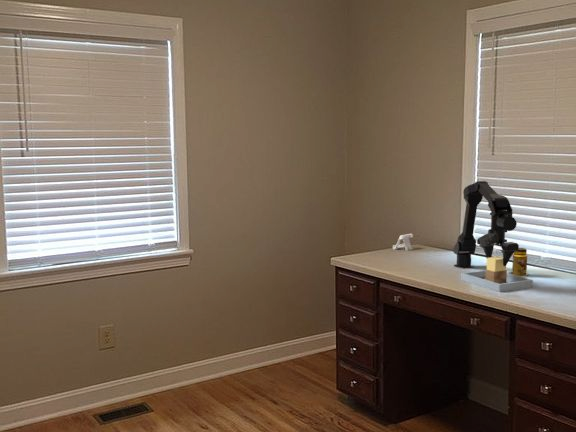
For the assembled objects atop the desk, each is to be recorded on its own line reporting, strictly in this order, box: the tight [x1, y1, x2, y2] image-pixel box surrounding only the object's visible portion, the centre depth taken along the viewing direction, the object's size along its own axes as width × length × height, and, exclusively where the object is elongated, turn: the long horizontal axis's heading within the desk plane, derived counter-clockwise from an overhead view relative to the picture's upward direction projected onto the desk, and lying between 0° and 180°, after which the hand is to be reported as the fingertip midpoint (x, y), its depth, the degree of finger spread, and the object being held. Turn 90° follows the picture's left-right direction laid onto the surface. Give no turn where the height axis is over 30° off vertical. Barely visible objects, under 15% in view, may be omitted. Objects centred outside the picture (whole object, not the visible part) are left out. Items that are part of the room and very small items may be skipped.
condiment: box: [507, 247, 529, 278], centre depth 291 cm, size 7×8×12 cm
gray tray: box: [460, 269, 534, 293], centre depth 276 cm, size 23×18×3 cm
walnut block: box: [484, 268, 508, 284], centre depth 276 cm, size 7×5×6 cm
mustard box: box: [486, 256, 507, 272], centre depth 275 cm, size 6×5×5 cm
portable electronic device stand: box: [392, 233, 414, 252], centre depth 353 cm, size 9×8×8 cm
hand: (496, 263), depth 275 cm, fingers open, 9 cm apart
